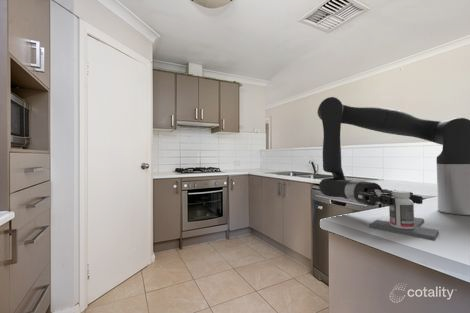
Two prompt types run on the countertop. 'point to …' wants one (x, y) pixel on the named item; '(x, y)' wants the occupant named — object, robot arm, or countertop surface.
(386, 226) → the t mat
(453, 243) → the countertop surface
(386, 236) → the countertop surface
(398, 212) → the pill bottle
